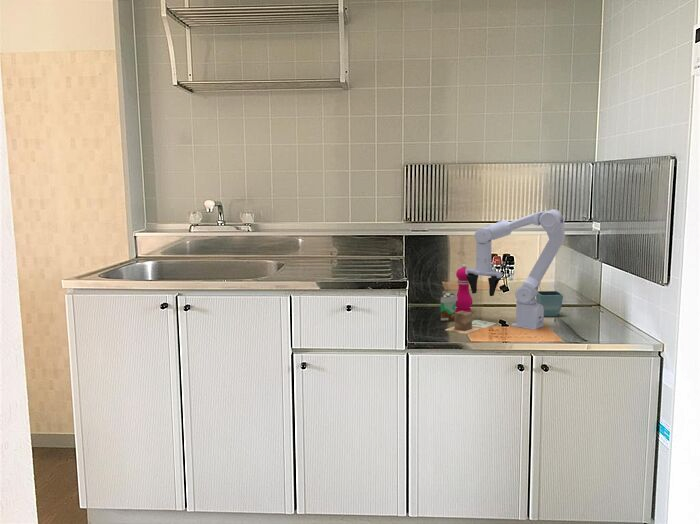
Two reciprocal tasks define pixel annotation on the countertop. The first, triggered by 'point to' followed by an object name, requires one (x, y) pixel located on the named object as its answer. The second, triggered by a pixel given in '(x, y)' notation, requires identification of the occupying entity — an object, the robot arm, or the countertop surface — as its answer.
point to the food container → (448, 306)
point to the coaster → (462, 331)
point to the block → (463, 321)
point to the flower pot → (550, 302)
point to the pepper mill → (463, 291)
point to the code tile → (482, 323)
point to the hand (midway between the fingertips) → (482, 294)
